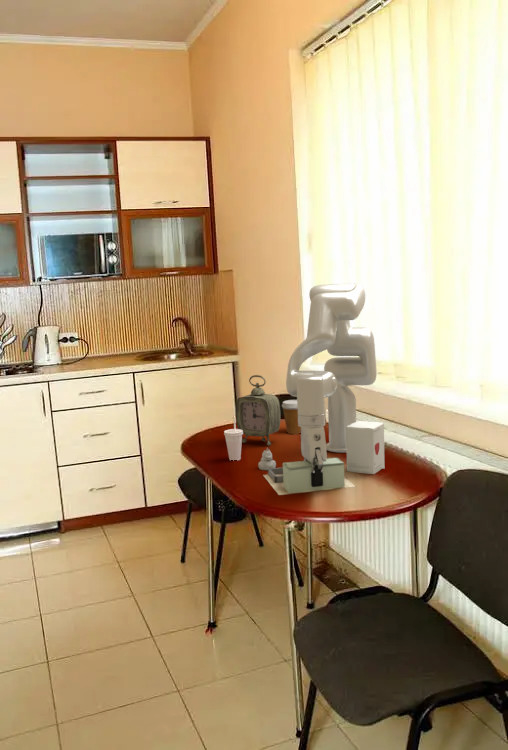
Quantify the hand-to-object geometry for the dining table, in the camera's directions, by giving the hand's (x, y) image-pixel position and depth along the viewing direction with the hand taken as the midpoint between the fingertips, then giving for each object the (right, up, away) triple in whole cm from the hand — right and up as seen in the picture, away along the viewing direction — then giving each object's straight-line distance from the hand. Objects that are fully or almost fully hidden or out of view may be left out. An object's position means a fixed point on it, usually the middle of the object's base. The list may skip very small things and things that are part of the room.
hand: (313, 482), depth 197 cm
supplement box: (+17, 0, +16) cm, 23 cm away
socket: (-7, 0, +11) cm, 13 cm away
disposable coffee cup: (-1, +8, +73) cm, 73 cm away
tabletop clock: (-14, +5, +59) cm, 61 cm away
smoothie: (-23, +2, +38) cm, 45 cm away
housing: (0, -1, 0) cm, 1 cm away
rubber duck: (-13, 0, +22) cm, 25 cm away
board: (-1, -2, +7) cm, 7 cm away
